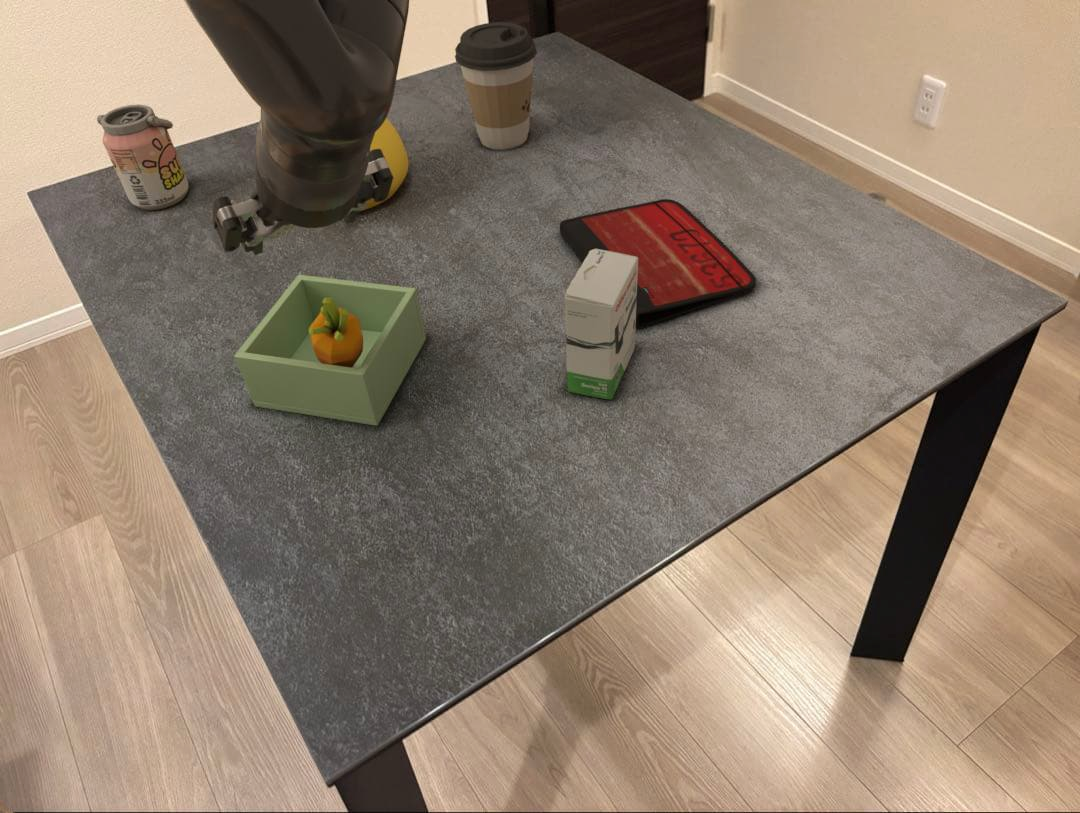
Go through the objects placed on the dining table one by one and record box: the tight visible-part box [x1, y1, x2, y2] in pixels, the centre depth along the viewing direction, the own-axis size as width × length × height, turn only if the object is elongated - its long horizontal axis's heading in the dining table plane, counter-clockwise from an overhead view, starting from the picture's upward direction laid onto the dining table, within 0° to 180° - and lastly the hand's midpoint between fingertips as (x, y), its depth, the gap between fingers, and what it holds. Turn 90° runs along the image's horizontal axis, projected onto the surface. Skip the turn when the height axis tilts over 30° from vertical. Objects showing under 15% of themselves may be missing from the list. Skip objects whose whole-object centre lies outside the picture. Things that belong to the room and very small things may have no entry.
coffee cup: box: [454, 21, 538, 151], centre depth 117 cm, size 11×11×15 cm
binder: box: [559, 198, 757, 330], centre depth 97 cm, size 16×2×21 cm
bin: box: [233, 274, 427, 427], centre depth 85 cm, size 14×14×7 cm
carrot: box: [309, 297, 363, 368], centre depth 79 cm, size 5×5×15 cm
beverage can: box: [96, 104, 189, 211], centre depth 112 cm, size 9×8×12 cm
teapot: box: [361, 117, 410, 212], centre depth 111 cm, size 25×18×14 cm
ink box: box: [563, 249, 638, 400], centre depth 81 cm, size 9×5×12 cm, turn 159°
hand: (299, 228), depth 73 cm, fingers open, 8 cm apart
